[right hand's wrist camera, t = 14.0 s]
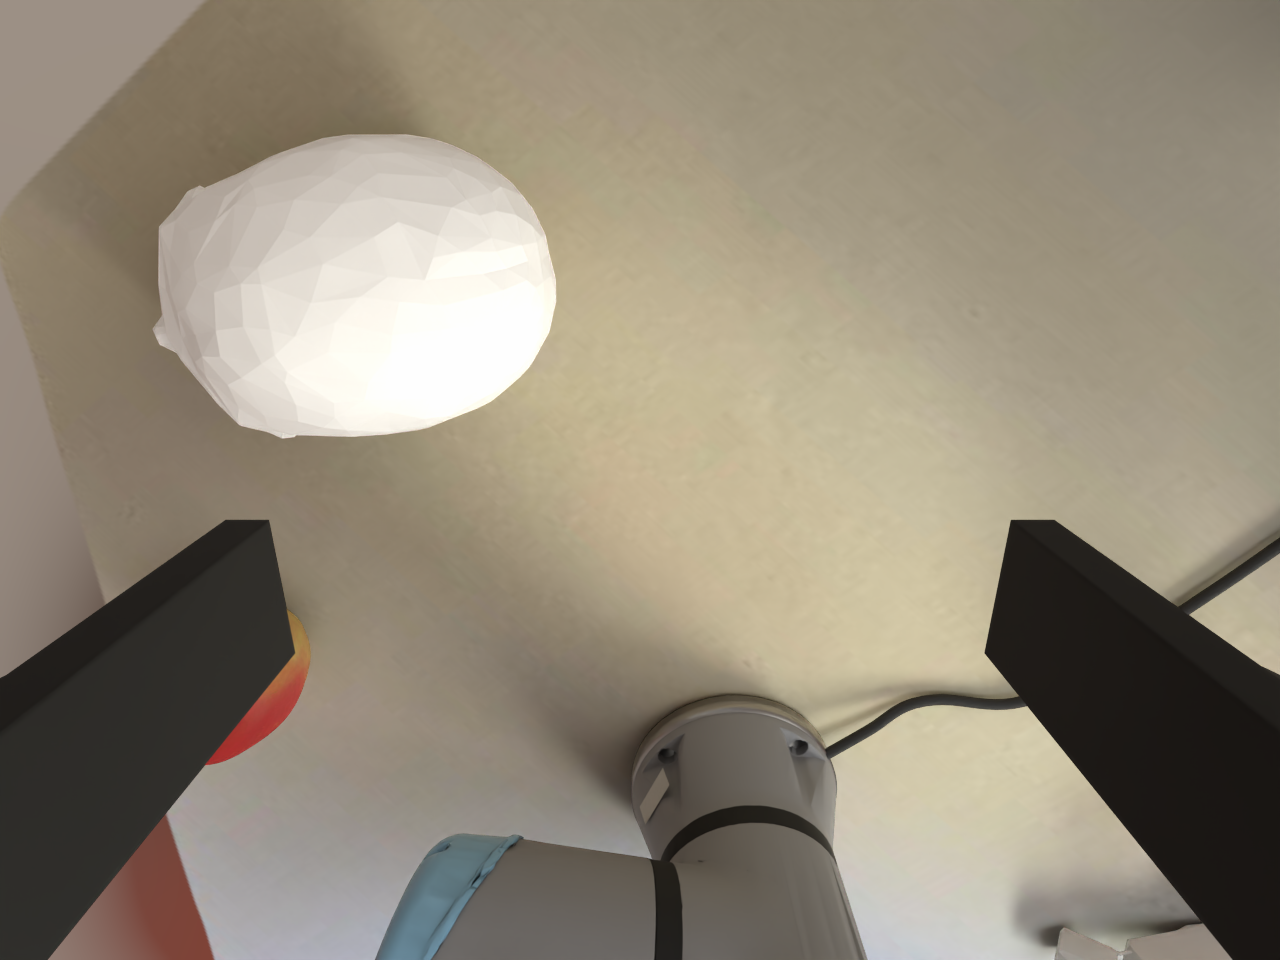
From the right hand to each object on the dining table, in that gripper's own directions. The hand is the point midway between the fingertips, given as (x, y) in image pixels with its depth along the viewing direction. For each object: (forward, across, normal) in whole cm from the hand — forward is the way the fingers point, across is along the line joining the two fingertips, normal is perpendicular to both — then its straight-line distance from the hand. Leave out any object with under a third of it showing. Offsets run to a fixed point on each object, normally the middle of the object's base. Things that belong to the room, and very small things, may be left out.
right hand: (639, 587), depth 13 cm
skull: (+31, -15, +3) cm, 35 cm away
